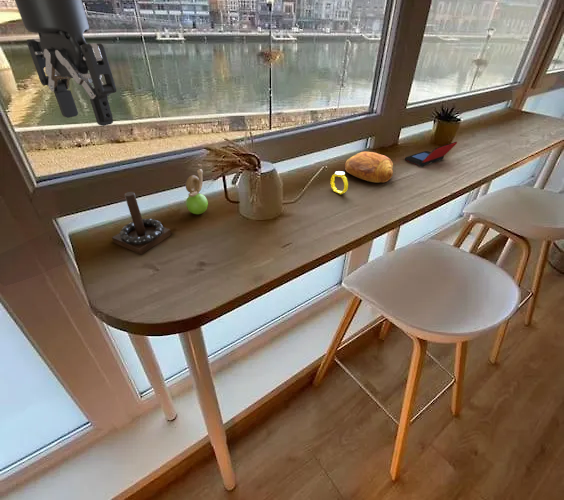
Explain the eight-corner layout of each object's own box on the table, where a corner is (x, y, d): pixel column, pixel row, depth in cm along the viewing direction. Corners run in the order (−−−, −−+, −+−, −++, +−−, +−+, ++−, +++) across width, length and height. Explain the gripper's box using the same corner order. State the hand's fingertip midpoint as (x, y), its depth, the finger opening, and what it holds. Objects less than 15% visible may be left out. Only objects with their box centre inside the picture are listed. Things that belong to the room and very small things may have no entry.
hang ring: (140, 250, 69) (138, 244, 68) (112, 238, 73) (110, 232, 72) (172, 230, 75) (171, 224, 74) (145, 219, 79) (143, 214, 78)
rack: (141, 254, 70) (125, 208, 63) (113, 242, 74) (96, 197, 67) (171, 234, 76) (160, 190, 70) (145, 224, 80) (132, 181, 73)
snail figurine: (215, 208, 86) (209, 165, 79) (201, 220, 82) (193, 175, 75) (198, 204, 88) (191, 162, 81) (183, 215, 84) (174, 171, 76)
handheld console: (425, 153, 120) (431, 133, 115) (451, 162, 113) (458, 141, 108) (402, 160, 114) (407, 139, 110) (429, 170, 107) (435, 148, 103)
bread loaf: (372, 194, 98) (379, 171, 92) (335, 171, 106) (340, 149, 100) (401, 180, 105) (409, 158, 99) (364, 160, 113) (370, 138, 107)
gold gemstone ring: (348, 194, 93) (351, 175, 89) (341, 197, 92) (344, 177, 88) (334, 187, 97) (336, 168, 93) (327, 189, 96) (329, 170, 92)
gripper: (-18, -15, 41) (37, 119, 51) (48, -17, 36) (96, 133, 45) (42, -11, 46) (81, 109, 56) (108, -12, 41) (139, 121, 50)
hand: (88, 120), depth 51 cm, fingers open, 8 cm apart
